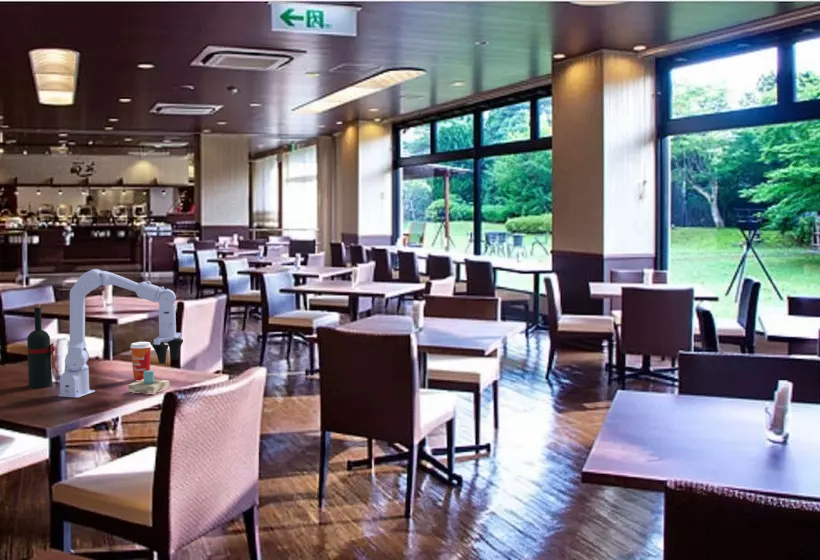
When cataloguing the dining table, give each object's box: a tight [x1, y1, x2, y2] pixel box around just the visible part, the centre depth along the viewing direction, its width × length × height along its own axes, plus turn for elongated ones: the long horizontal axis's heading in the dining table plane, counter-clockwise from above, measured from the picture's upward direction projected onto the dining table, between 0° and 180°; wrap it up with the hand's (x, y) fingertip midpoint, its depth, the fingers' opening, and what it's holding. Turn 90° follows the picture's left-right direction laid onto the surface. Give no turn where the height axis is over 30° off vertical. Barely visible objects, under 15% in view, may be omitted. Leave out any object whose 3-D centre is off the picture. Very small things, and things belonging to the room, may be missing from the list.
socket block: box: [127, 378, 171, 393], centre depth 280 cm, size 10×10×3 cm
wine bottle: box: [26, 303, 59, 389], centre depth 286 cm, size 8×10×30 cm
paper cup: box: [129, 341, 152, 381], centre depth 297 cm, size 8×8×14 cm
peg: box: [144, 370, 155, 384], centre depth 280 cm, size 4×4×7 cm
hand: (168, 361), depth 281 cm, fingers open, 7 cm apart
